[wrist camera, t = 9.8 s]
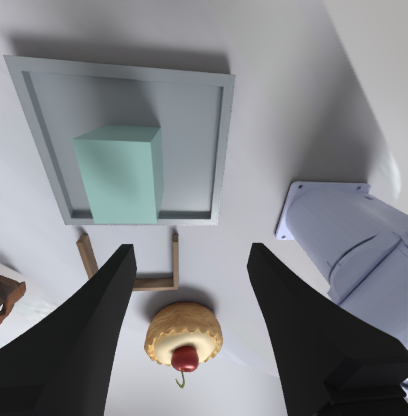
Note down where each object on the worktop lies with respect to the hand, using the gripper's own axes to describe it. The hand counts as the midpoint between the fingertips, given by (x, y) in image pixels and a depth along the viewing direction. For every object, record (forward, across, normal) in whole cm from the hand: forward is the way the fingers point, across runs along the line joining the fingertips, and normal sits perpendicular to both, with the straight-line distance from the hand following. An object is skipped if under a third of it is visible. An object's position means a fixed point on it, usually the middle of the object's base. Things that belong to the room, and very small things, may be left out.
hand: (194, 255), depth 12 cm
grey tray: (+10, +5, -3) cm, 12 cm away
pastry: (+11, 0, +25) cm, 27 cm away
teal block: (+10, +5, -3) cm, 11 cm away
